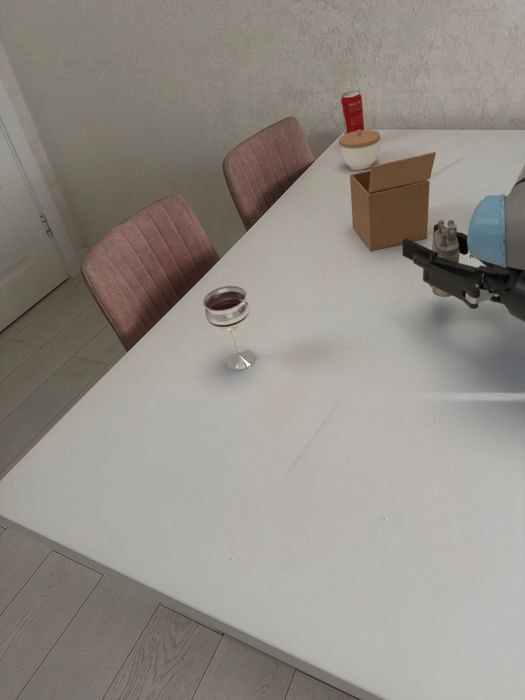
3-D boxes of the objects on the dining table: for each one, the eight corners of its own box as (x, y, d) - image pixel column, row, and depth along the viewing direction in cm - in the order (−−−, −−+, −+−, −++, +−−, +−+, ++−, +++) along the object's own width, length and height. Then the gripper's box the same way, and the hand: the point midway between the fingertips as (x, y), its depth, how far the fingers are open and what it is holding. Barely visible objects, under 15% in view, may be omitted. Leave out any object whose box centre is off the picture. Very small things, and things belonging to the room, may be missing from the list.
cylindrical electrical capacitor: (457, 297, 75) (463, 237, 69) (431, 298, 76) (434, 239, 70) (451, 272, 80) (456, 214, 74) (427, 273, 81) (429, 217, 75)
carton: (427, 238, 100) (429, 181, 93) (370, 251, 100) (368, 195, 93) (404, 215, 110) (405, 162, 102) (352, 227, 109) (349, 174, 102)
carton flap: (429, 177, 93) (429, 179, 93) (368, 191, 92) (369, 192, 92) (435, 151, 88) (436, 152, 88) (371, 166, 88) (371, 167, 87)
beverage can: (367, 143, 149) (365, 88, 140) (361, 151, 145) (358, 95, 136) (348, 143, 152) (345, 90, 142) (341, 151, 147) (338, 96, 138)
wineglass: (269, 352, 81) (256, 290, 73) (244, 378, 77) (228, 315, 69) (236, 342, 84) (220, 282, 77) (211, 366, 80) (192, 305, 73)
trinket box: (332, 169, 137) (330, 134, 132) (358, 156, 142) (357, 121, 136) (362, 176, 130) (361, 139, 125) (389, 162, 135) (388, 125, 129)
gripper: (495, 356, 61) (373, 282, 78) (596, 296, 66) (462, 239, 83) (503, 306, 56) (372, 239, 73) (611, 246, 62) (465, 196, 79)
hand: (420, 239), depth 78 cm, fingers closed on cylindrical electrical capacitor, 6 cm apart
